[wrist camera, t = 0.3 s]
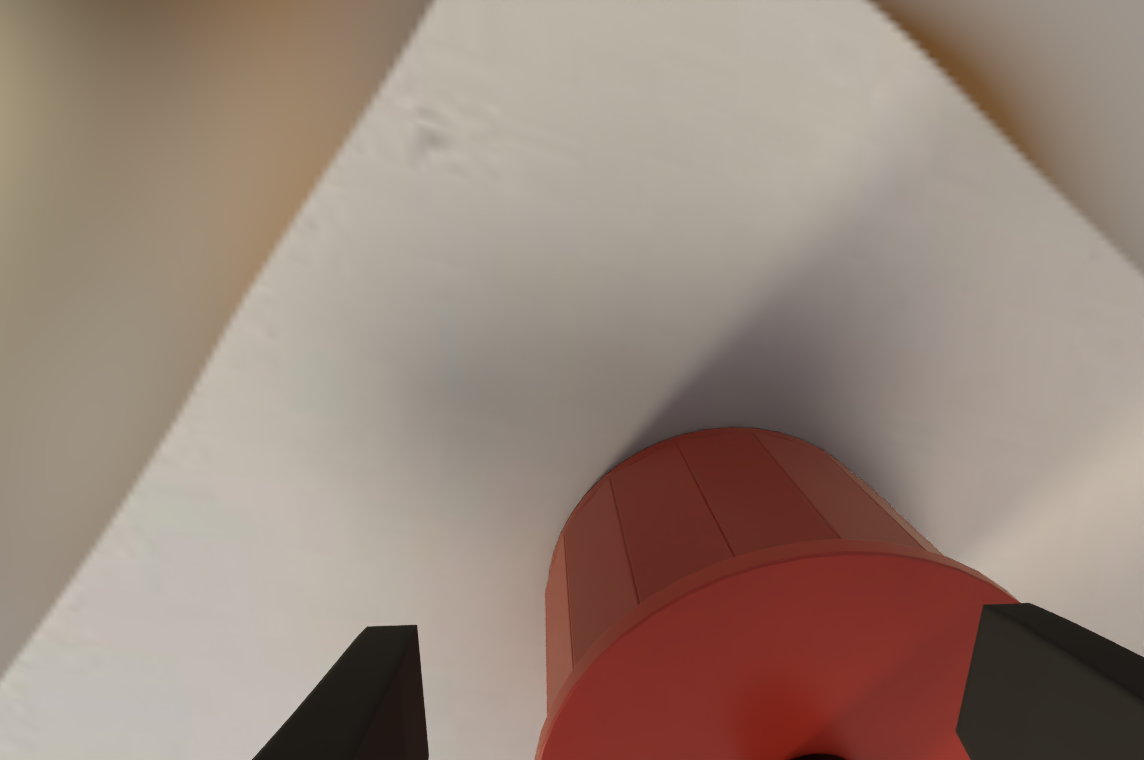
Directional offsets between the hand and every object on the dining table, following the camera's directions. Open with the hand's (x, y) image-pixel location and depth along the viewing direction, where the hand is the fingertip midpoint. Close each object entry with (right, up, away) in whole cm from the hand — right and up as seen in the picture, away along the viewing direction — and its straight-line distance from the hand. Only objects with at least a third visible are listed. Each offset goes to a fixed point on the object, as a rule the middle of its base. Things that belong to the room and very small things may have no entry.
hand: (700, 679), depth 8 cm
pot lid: (+3, -4, +5) cm, 8 cm away
